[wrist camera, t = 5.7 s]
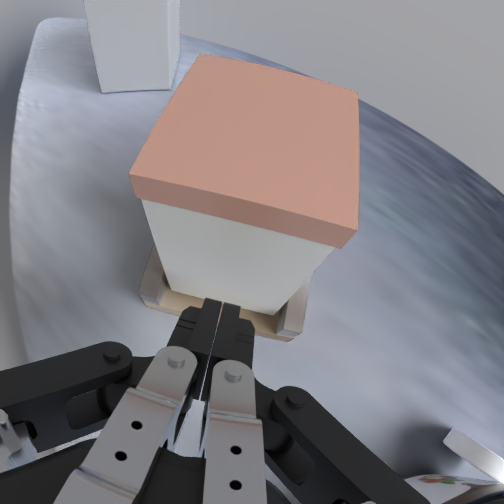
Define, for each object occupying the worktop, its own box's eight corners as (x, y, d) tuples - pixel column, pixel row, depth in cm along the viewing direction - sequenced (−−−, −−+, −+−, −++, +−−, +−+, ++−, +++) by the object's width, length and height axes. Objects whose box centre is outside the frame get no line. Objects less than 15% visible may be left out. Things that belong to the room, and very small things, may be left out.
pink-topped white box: (198, 201, 20) (200, 53, 10) (291, 224, 21) (357, 92, 11) (169, 291, 18) (128, 173, 8) (274, 317, 18) (357, 230, 8)
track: (220, 110, 27) (225, 61, 22) (318, 135, 27) (338, 89, 22) (147, 307, 19) (127, 279, 14) (287, 341, 19) (316, 326, 14)
